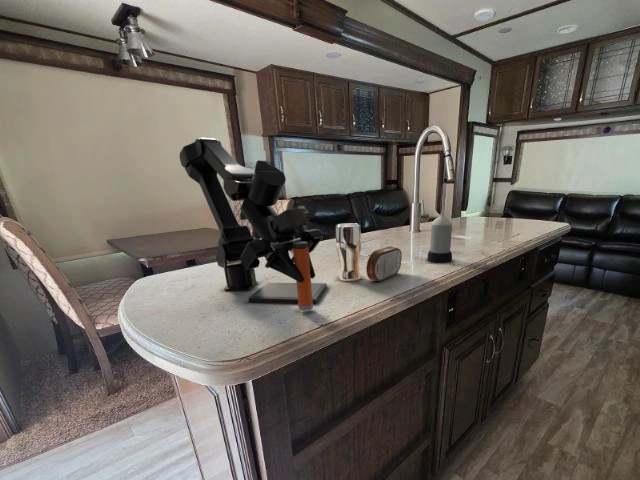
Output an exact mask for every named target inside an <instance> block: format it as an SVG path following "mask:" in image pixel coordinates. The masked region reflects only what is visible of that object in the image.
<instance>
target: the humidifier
mask: <svg viewBox="0 0 640 480" xmlns="http://www.w3.org/2000/svg"><path fill="white" fill-rule="evenodd" d="M446 194H447V182H444V183H443V188H442V196H441V198H440V200H441V208H440V210H439V211H440V213H439V216H438V217H436V218H435V219H434V220H433V221H432V223H431V227H430V244H429V245H430V246H429V251H428V252H427V262H429V263H433V264H449V263H452V259H453V253H452V251H451V245H452V232H453V225H452V224H453V223H452V221H451V220H450V219H449V218H448V217H446V215H445V210H446V201H445V200H446Z"/></svg>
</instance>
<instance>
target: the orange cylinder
mask: <svg viewBox="0 0 640 480" xmlns="http://www.w3.org/2000/svg"><path fill="white" fill-rule="evenodd" d="M293 246H294V248H293V252H294V262H295V263H294V262H293V263H294V264H295V265H296V267H297V268H298V270H299V271H300V273H301V274H302V276H303V278H304V281H303V282H302V283H300V282H298V281H296V280H295V283H297V293H298V303H297V304H298V309H299V310H301V311H309V310H312V309H313V308H314V303H313V300H312V287H311V283H312V278H311V274H310V262H309V254H310V253H309V249H308V243H307V242H294V243H293Z"/></svg>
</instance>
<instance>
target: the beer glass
mask: <svg viewBox="0 0 640 480" xmlns="http://www.w3.org/2000/svg"><path fill="white" fill-rule="evenodd" d="M361 231H362V230H361V224H360V223H350V222H349V223H348V222H347V223H338V224H336V225H335V246H336V252H337V257H338V262H339V276H338V278H339V280H340V281H343V282H356V281H359V280H360V279H361V273H360V272H361V271H360V257H361V249H362V232H361Z"/></svg>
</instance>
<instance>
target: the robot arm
mask: <svg viewBox="0 0 640 480" xmlns="http://www.w3.org/2000/svg"><path fill="white" fill-rule="evenodd" d="M179 162H180V165H181V166H182V168H184V170H185V172H186V173H187V176H188V177H189V178H190V179H192V181H194V182H196V183H197V184H199V186H200V189H201V192H202V193H203V196H204V198H205V200H206V203H207V205H208V207H209V209H210V212H211V214H212V216H213V219H214V221H215V224H216V226H217V228H218V230H219V238H218V240H217V252H216V255H215V260H216V263H217V266H218V267H220V268H222V269H223V272H224V277H225V282H226V286H225V287H223V289H224V291H249V290H251V289H252V288H253V287H255V286H256V285H257V284H258V281H257V277H256V270H255V269H256V268H259V266H260V264H261V260H260V258H261V259H262V258H265V261H266V263H265V265H264V267H265V269H272V270H274V271H276V272H279V273H281V274H283V275H285V276H287V277H289V278H290V279H293V280H294V281H295V282H296V281H298V282H300V283H302V282H303V281H304V278H303V276H302V274H301V273H300V271H299V270H298V268H297V267H296V265H295V262H294V252H293V248H294V246H293V243H294V242H307V243H308V249H309V262H310V274H311V280H313V279H315V277H316V272H315V269H314V266H313V262H312V259H311V256H310V254H311V253H312V252H313V251H314V250H315V249H316V248H317V246H318V245H319V243H321V242H322V240H323V238H324V235H323V234H322V232H321V231H320V230H319V229H318V228H317V229H315V228H312V229H307V230H303V231H302V232H301V234H300V236H299V237H298V238H295V236H297V235H298V234H299V230H298V229H300V228H302V227H303V226H307V225H308V224H309V221H310V220H311V215H310V214H311V213H310V212H309V210H308V209H307V208H306V207H305V206H304V205H301V206H297V207H296V208H290V209H286V210H284V211H282V212H280V213H279V214H278V213H277V212H276V211H275V209H274V208H273V206H275V205H276V204H277V203H278V201H279V198H280V197H281V194H282V191H283V189H284V186H285V183H286V181H287V179H286V175H285V173H284V172H283V171H281V170H280V169H279V168H278V167H276V166H274V165H271V164H269V162H268V161H267V160H258V159H257V160H256V162H255V165H254V170H253V169H251V168H248V167H246V166H242V165H241V164H239V163H238V161H237V160H236V159H235V158H234V157H233V156H232V155H231V154H230V153H229V151H227V150H226V148H224V147H223V144H222V143H221V141H220V140H219V139H217V138H210V137H199V138H196V139H195V140H194V141H193V142H191V143H189V144H187V145H184V146H183V147H182V149H181V150H180V152H179ZM218 176H220V178H221V179H222V180H223V186H222V184H221V182H220V179H219V177H218ZM227 196H228V197H227ZM228 198H229V199H230V200H231V201H232V202H241V201H242V203H241V206H240V208H239V209H240V213H239V219H240V220H241V221H244V220H247V221H248V222H249V224H250V225H251V227H252V228H253V229H254V232H255V233H254V235H252V233H251V231H250V227H248V226H247V225H240V224H239V222H238V220H237V217H236V216H235V214H234V213H235V212H234V211H233V209H232V207H231V204H230V202H229V200H228ZM253 236H254V237H253ZM255 239H256V240H255ZM289 252H290V253H291V255H292V257H290V253H289Z"/></svg>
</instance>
